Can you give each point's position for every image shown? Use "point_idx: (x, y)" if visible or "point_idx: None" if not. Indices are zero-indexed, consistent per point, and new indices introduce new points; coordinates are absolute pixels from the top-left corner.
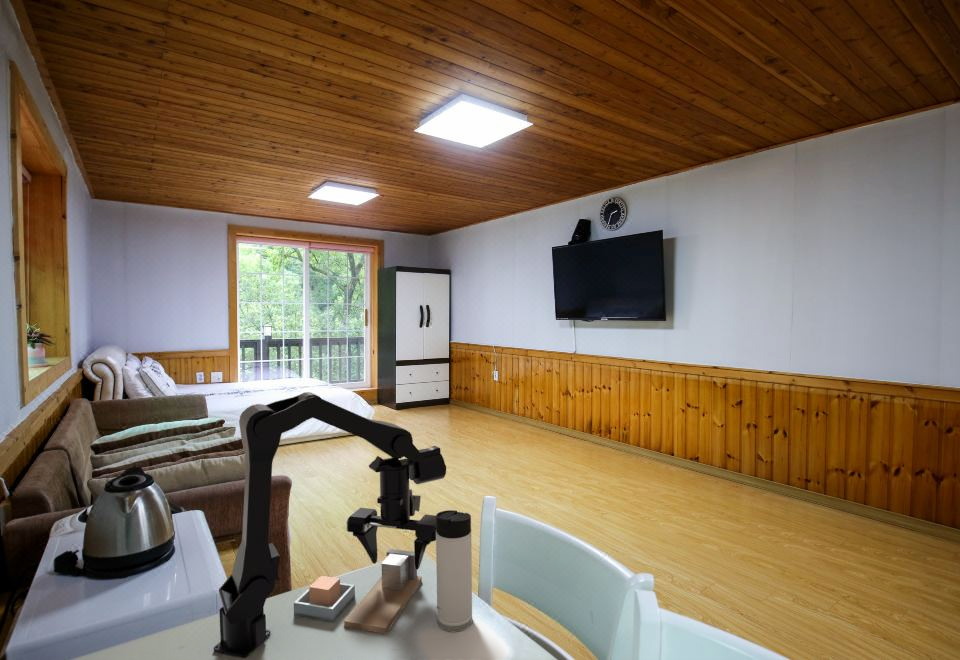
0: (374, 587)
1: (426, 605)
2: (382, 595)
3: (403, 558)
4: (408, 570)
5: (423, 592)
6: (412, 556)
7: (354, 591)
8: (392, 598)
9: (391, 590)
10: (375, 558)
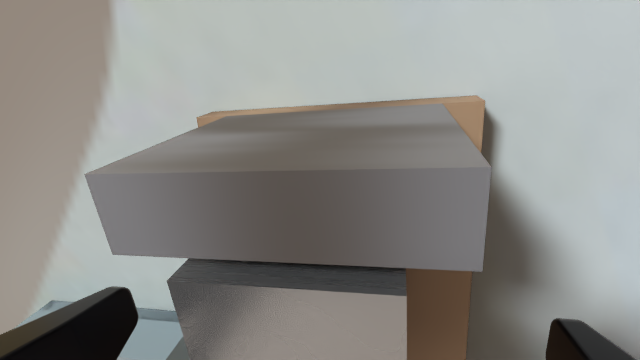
0: None
1: (589, 323)
2: None
3: (371, 355)
4: None
5: (532, 215)
6: (456, 261)
7: (183, 339)
8: None
9: None
10: (105, 338)
